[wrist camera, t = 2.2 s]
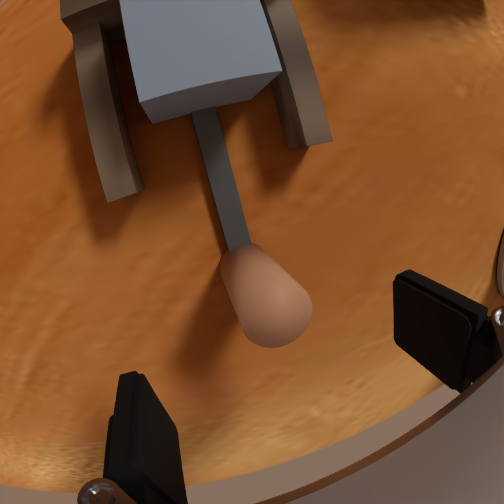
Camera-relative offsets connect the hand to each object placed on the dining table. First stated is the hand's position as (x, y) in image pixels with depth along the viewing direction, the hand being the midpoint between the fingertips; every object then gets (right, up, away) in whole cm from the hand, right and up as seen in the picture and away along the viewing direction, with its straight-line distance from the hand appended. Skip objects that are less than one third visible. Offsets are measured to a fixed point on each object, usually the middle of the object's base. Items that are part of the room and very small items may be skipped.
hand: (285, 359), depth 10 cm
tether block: (-3, +9, +7) cm, 12 cm away
